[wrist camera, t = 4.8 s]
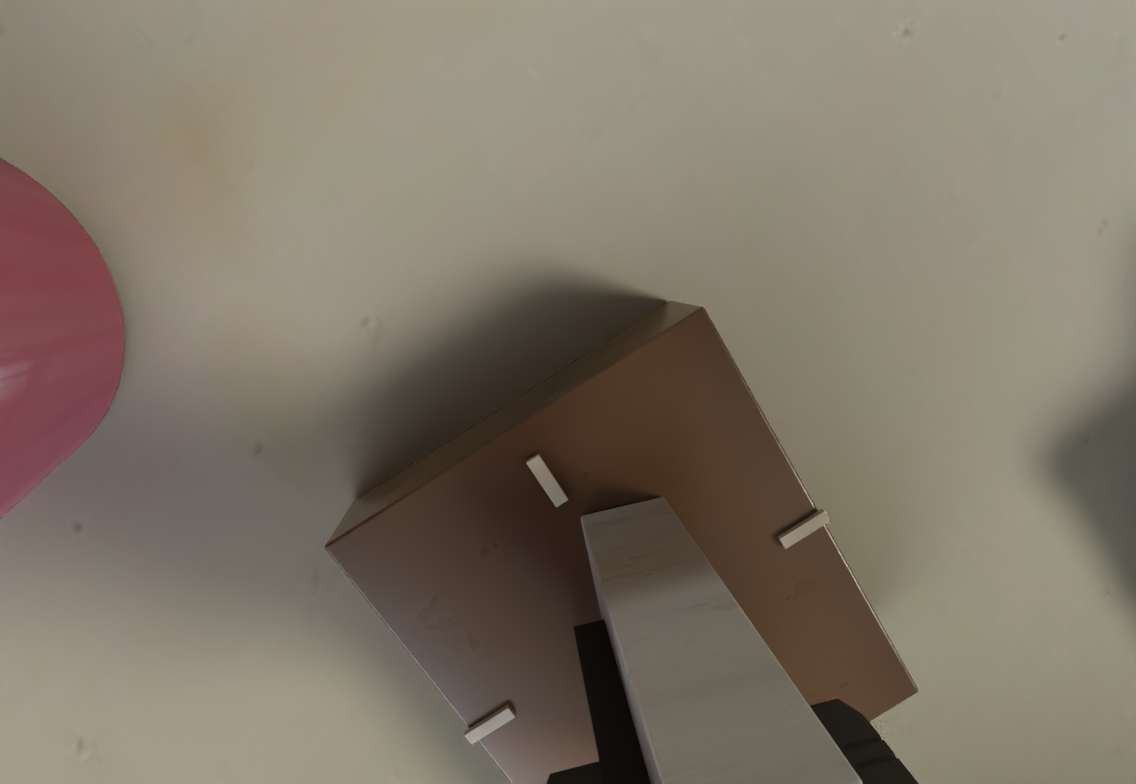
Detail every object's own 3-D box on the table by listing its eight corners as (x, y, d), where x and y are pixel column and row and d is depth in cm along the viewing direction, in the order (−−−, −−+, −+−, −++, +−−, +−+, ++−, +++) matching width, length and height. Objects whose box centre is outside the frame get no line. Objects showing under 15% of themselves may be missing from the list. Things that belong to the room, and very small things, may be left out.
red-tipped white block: (579, 514, 16) (683, 851, 7) (663, 495, 16) (877, 798, 7) (628, 747, 17) (768, 1280, 8) (705, 727, 17) (927, 1231, 8)
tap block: (674, 297, 18) (710, 303, 15) (864, 630, 21) (926, 694, 18) (348, 504, 18) (316, 552, 15) (581, 805, 21) (594, 898, 18)
